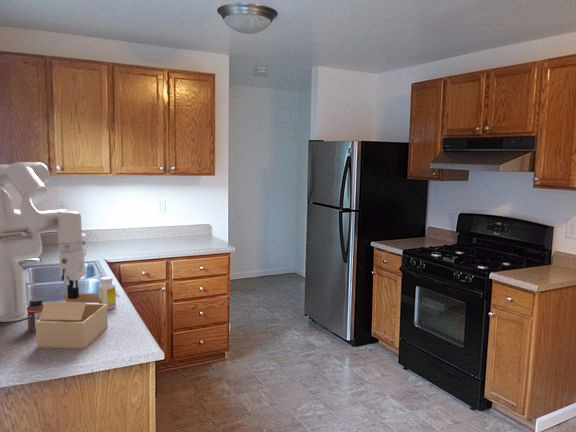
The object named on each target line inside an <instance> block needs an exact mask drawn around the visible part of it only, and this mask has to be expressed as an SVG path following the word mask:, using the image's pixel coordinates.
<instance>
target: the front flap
mask: <svg viewBox="0 0 576 432" xmlns="http://www.w3.org/2000/svg"><path fill="white" fill-rule="evenodd" d="M43 304H44V307H43V310H42V312H41V315H40V318H39V319H40V320H81V318H82V315H83V312H84V309H85V305H86V304H87V303H86V302H66V301H50V300H48V301H47V300H46V301H45V302H44V303H43Z"/></svg>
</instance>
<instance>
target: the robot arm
mask: <svg viewBox="0 0 576 432" xmlns="http://www.w3.org/2000/svg"><path fill="white" fill-rule="evenodd" d="M49 180H50V170H49V168H48V167H47V165H46V164H44V163H42V162H41V161H17V162H13V163H10V164H5V163H4V164H0V236H6V235H16V234H21V235H20V236H13V237H6V238H1V239H0V323H2V322H3V323H10V322H12V323H13V322H17V321H21V320H25V319H28V317H27V307H28V304H27V291H26V287H27V286H26V276H25V275H26V273H25V270H24V268H23V267H22V266H21V265H20V264H19V263H18V262H21V261H25V260H26V261H27V260H32V259H35V258H38V257H39V256H41V254H42V252H43V243H42V237H41V234H44V233H50V232H51V233H52V232H57V242H58V253H59V278H60V281H62V282H63V286H66V289H67V290H66V291H67V293H68V299H77V298H79V293H80V288H79V286H80V280H81V278H83V277H84V276H85V275H86V273H87V272H86V262H85V258H84V254H83V246H82V241H83V237H82V233H83V231H82V230H83V229H82V215H81V213H80V212H79V211H76V210H75V211H74V210H69V209H65V208H63V209H62V208H61V209H58V208H57V209H49V210H38V209H37V208H36V207H35V205H36V204H38V203H40V202H41V201H42V200H44V199H45V198H46V196H47V194H48V188H47V187H46V185H45V184H46V183H48V181H49ZM3 187H13V188H14V189H15V190H16V191H17V193H18V194H19V196H21V198H22V199H21V201H20V208H19V209H18V208H17V209H16V208H15V206H14V200H13V197H12V196H11V195H10V193H9V192H8V191H7V190H6V189H5V188H3Z"/></svg>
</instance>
